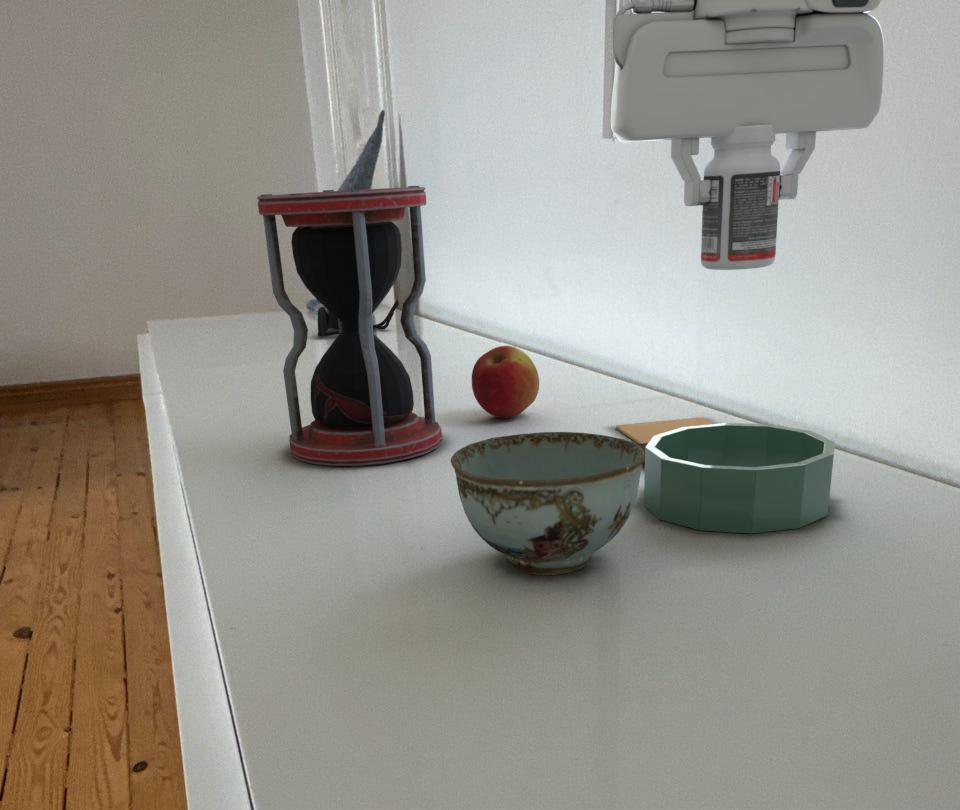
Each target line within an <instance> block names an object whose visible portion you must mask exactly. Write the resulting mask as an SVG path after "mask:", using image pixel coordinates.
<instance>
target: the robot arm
mask: <svg viewBox="0 0 960 810" xmlns="http://www.w3.org/2000/svg"><path fill="white" fill-rule="evenodd" d="M882 1H883V0H631V2H627V3H626V4H624V5H623V6H622V7H621V8H619V9H618V11H617V12H616V14H615V16H614V18H613V21H612V25H611V26H612V27H611V53H612V57H613V59H614V62H615V63H616V64H615V65H616V66H615V70H614V71H615V72H614V78H613V87H612V95H611V106H610V109H611V110H610V129H611V131H612V133H613V134H614V136H615V137H616V139H617V140H618V141H619V142H620V143H634V142H635V143H636V142H654V141H656V142H657V141H671V142H670V158H671V160H672V162H673V164H674V166H675V168H676V170H677V172H678V174H679V176H680V177H681V179H682V181H684V184H683V186H684V187H683V189H684V190H683V203H684V206H685V207H698V206H700V207H702V206H703V205H709V204H710V200H711V195H710V193H709V192H710V190H711V180H703V179H702V177H701V175H700V173H699V170H698V167H697V166H696V164H695V161H694V159H693V157H692V156H698V155H699V153H700V139H707V138H710V139H711V137H717V136H729V135H731V134H732V133H733V132H734V130H735V128H736V127H738V126H751V125H765V124H772V125H773V131H774V133H775V135H778V134H779V135H780V134H785V145H784V146H785V147H784V149H785V150H786V151H787V150H788V151H789V150H791V151H790V153H789V155H788V157H787V159H786V161H785V164H784V165H783V166H782V169H781V170H780V185H779V201H787V200H788V201H789V200H796V198H797V195H798V187H799V175H800V174H801V173H802V171H803V169H805V166H806V165H807V163H808V161H809V160H810V157H811V156H812V154H813V152H814V151H815V149H816V139H817V138H816V137H817V132H834V131H850V130H851V131H852V130H861V129H867V128H868V127H870V125H871V124H872V123H873V121H874V120H875V118H876V117H877V115H878V113H879V112H880V109H881V104H882V97H883V96H882V95H883V86H884V85H883V84H884V69H885V68H884V67H885V41H884V35H883V34H884V33H883V30H882V27H881V24H880V23H879V21H878V20H877V18H875V17H874V16H873V15H871V14H869V12H872V11H876V10H877V9H878V8H879V7H880V6H881V3H882ZM630 10H631V13H626V12H628V11H630Z"/></svg>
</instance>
